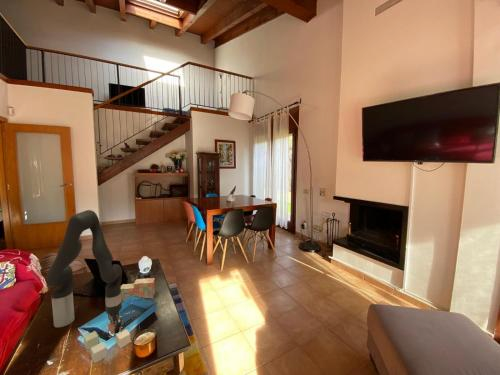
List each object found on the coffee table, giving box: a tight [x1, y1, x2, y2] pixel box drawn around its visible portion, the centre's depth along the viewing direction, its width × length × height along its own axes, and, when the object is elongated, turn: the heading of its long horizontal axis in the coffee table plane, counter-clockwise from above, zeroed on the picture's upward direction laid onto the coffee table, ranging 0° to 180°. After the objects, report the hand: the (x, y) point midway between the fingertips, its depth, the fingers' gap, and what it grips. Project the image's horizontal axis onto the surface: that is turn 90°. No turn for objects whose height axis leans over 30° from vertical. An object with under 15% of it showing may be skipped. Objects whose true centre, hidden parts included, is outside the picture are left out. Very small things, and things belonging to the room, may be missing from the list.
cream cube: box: [115, 328, 131, 349], centre depth 114 cm, size 5×5×5 cm
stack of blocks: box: [120, 277, 156, 300], centre depth 152 cm, size 21×6×12 cm, turn 101°
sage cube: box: [83, 330, 100, 351], centre depth 113 cm, size 5×5×5 cm
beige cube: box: [90, 341, 108, 364], centre depth 106 cm, size 5×5×5 cm
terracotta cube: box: [107, 321, 123, 334], centre depth 121 cm, size 5×5×5 cm
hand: (115, 330), depth 122 cm, fingers closed on terracotta cube, 5 cm apart
